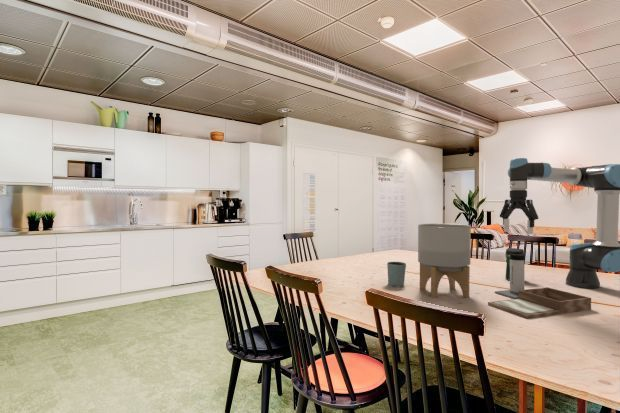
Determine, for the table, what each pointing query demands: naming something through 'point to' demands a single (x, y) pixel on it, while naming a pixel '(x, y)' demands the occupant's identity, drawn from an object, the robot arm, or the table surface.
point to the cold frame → (543, 303)
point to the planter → (444, 255)
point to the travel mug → (516, 272)
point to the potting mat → (508, 294)
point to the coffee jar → (508, 251)
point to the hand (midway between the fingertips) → (517, 232)
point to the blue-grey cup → (396, 273)
